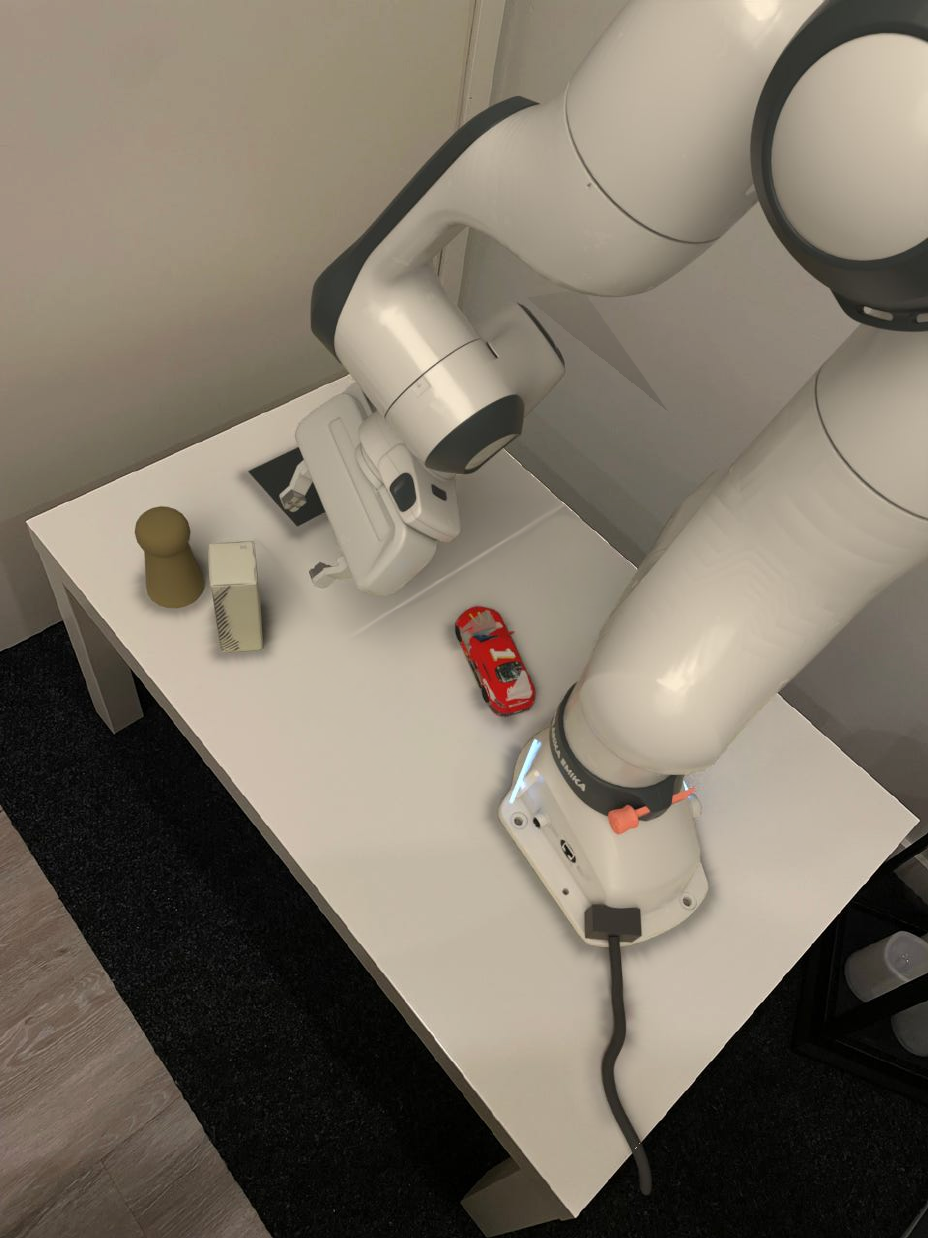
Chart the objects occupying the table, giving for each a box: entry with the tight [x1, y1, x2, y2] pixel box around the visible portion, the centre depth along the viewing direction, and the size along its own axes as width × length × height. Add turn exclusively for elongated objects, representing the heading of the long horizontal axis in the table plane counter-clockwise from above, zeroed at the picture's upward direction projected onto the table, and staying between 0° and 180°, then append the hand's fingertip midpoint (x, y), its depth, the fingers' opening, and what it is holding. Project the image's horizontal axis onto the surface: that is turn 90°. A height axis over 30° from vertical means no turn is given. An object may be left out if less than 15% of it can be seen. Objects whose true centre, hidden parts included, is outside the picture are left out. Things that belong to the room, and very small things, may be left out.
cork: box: [134, 505, 206, 609], centre depth 89 cm, size 6×6×11 cm
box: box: [208, 540, 264, 653], centre depth 86 cm, size 5×4×13 cm
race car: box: [454, 605, 536, 718], centre depth 92 cm, size 13×5×4 cm, turn 20°
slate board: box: [247, 446, 326, 528], centre depth 105 cm, size 20×10×1 cm, turn 131°
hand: (300, 541), depth 83 cm, fingers open, 8 cm apart
